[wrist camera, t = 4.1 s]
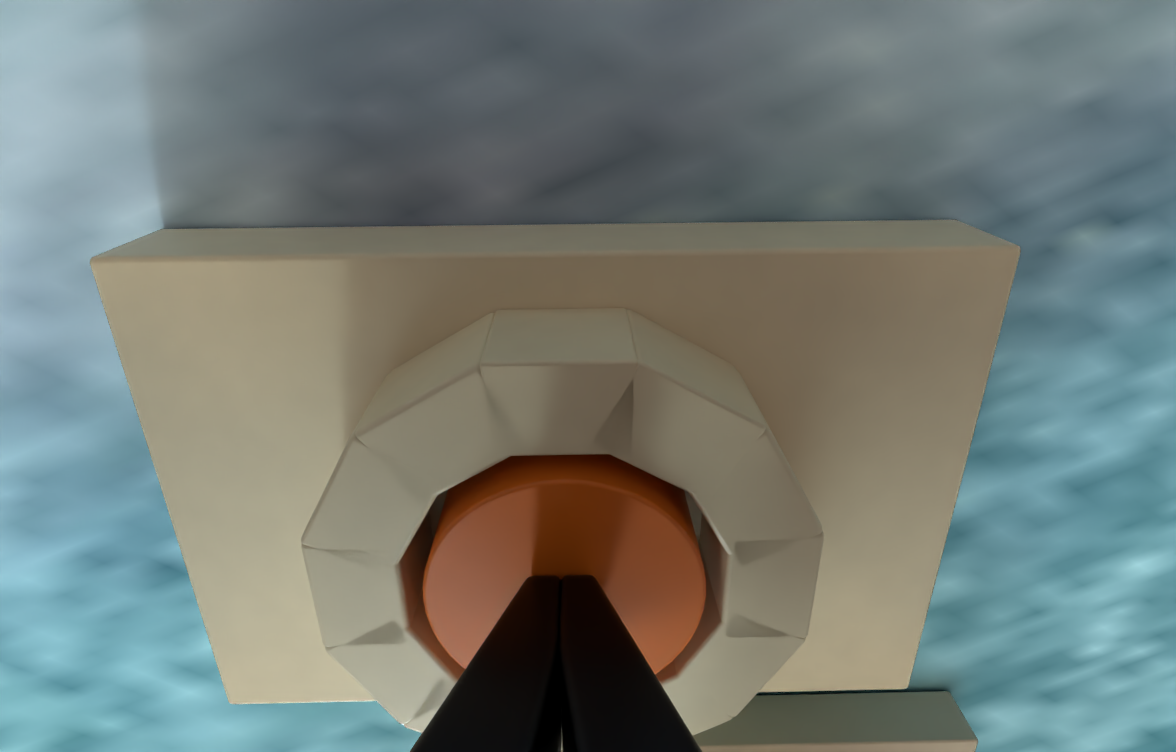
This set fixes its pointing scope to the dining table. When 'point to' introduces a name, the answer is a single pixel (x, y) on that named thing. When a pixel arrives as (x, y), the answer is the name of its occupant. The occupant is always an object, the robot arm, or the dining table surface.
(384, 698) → the control block
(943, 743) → the lever stand
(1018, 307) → the dining table surface
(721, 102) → the dining table surface
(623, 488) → the button
